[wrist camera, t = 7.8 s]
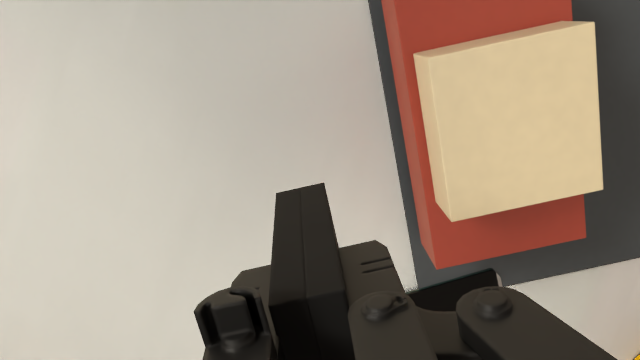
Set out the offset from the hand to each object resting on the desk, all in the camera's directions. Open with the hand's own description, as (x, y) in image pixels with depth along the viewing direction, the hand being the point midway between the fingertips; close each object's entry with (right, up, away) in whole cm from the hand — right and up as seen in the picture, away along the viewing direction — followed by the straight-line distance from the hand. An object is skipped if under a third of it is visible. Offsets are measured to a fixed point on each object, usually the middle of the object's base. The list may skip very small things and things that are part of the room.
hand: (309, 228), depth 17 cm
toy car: (+5, +3, +9) cm, 11 cm away
